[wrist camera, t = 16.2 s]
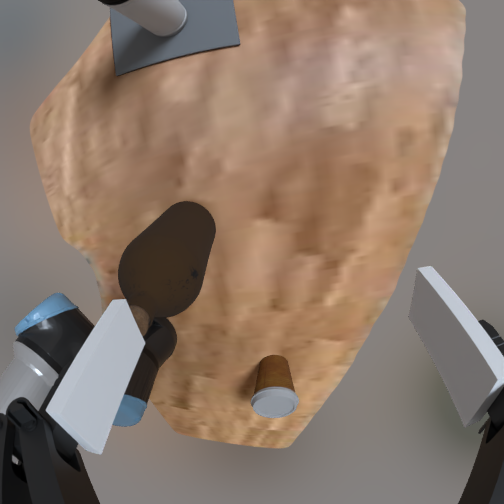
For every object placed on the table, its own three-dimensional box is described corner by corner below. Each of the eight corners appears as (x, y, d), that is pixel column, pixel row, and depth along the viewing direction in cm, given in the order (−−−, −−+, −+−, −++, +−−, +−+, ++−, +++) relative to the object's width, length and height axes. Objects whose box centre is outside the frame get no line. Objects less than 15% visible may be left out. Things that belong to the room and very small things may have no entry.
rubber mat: (117, 76, 36) (116, 75, 36) (111, 8, 30) (109, 7, 30) (240, 44, 34) (240, 43, 34) (228, -26, 28) (227, -27, 28)
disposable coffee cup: (295, 375, 63) (298, 417, 53) (254, 377, 64) (252, 419, 53) (295, 348, 59) (299, 392, 49) (250, 350, 60) (248, 395, 49)
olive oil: (185, 183, 45) (113, 256, 22) (232, 228, 48) (207, 333, 25) (147, 227, 48) (71, 317, 26) (191, 267, 51) (147, 375, 29)
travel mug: (152, 44, 34) (83, 10, 16) (147, 11, 31) (82, -33, 13) (191, 32, 33) (141, -17, 15) (185, -1, 30) (137, -59, 12)
